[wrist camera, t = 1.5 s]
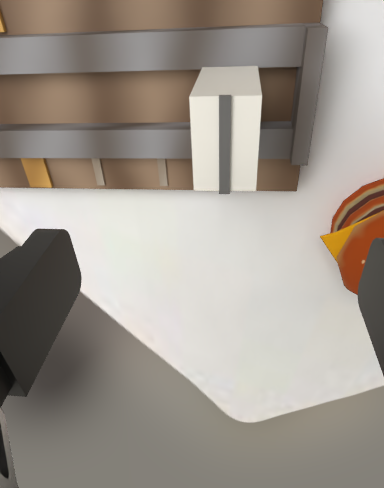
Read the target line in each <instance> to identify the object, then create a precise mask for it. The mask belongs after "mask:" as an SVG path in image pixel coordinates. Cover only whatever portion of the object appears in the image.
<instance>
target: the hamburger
mask: <svg viewBox="0 0 384 488" xmlns="http://www.w3.org/2000/svg"><path fill="white" fill-rule="evenodd" d="M320 237H321V239H322V240H323V242H324V243H325V245H326V246H327V248H328V249H329V251H330V252H331V254H332V255H333V257H334V258H335V260H336V261H337V263H338V266H339V269H340V273H341V276H342V280H343V283H344V286H345V287H346V288H347V289H348V290H350V291H351V292H353V293H355V294H357V295H358V285H359V281H360V278H361V275H362V272H363V268H364V265H365V262H366V258H367V255H368V252H369V249H370V245H371V243H372V241H373V240H374V239H375V238H384V178H383V179H381V180H378V181H375V182H373V183H370V184H367V185H364V186H362V187H361V188H360V189H358V190H357V191H356V192H355V193H353V194H352V195H351V196H349V197H348V198H347V199H345V200H344V201H343V203H342V204H341V206H340V207H339V209H338V210H337V212H336V213H335V215H334V217H333V219H332V226H331V233H330V234H327V235H323V236H320Z"/></svg>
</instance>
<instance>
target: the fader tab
mask: <svg viewBox="0 0 384 488" xmlns="http://www.w3.org/2000/svg"><path fill="white" fill-rule="evenodd" d="M189 103H190V123H191V144H192V165H193V185H194V191H219V194H230V191H256V182H257V167H258V151H259V136H260V120H261V105H262V91H261V84H260V78H259V71H258V66H233V67H202V69H201V72H200V74H199V76H198V78H197V80H196V83H195V85H194V87H193V89H192V92H191V94H190V96H189Z"/></svg>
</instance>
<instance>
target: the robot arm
mask: <svg viewBox="0 0 384 488" xmlns="http://www.w3.org/2000/svg"><path fill="white" fill-rule="evenodd" d="M80 287H81V272H80V268H79V265H78V262H77V258H76V255H75V252H74V248H73V245H72V242H71V238H70V235H69V233H68V232H67V231H66V230H64V229H36V230H35V231H34V232H33V233H32V234H31V235H30V236H29V238H28V239H27V240H26V241H25V243H24V244H23V245H22V246H18V247H16V248H15V249H13V250H12V251H11V252H9V253H7V254H6V255H5V256H3V257H2V258H0V488H19V487H18V483H17V479H16V474H15V468H14V463H13V457H12V452H11V447H10V441H9V436H8V431H7V425H6V420H5V415H4V411H3V409H2V408H1V406H2V404H3V402H4V400H5V399H6V397H7V395H12V396H25V397H26V396H27V394H28V392H29V390H30V389H31V387H32V385H33V383H34V381H35V379H36V377H37V375H38V373H39V371H40V369H41V366H42V365H43V363H44V361H45V359H46V357H47V355H48V353H49V351H50V349H51V347H52V345H53V343H54V341H55V339H56V337H57V335H58V333H59V331H60V329H61V327H62V325H63V323H64V321H65V319H66V317H67V316H68V314H69V312H70V310H71V308H72V306H73V304H74V302H75V300H76V298H77V296H78V294H79V291H80ZM358 303H359V307H360V310H361V313H362V316H363V319H364V322H365V324H366V327H367V330H368V333H369V336H370V339H371V341H372V344H373V347H374V350H375V353H376V356H377V358H378V361H379V364H380V367H381V370H382V373H383V375H384V238H375V239H374V240H373V241H372V243H371V245H370V249H369V252H368V255H367V258H366V262H365V265H364V268H363V272H362V275H361V278H360V281H359V285H358Z"/></svg>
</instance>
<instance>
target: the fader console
mask: <svg viewBox="0 0 384 488" xmlns="http://www.w3.org/2000/svg"><path fill="white" fill-rule="evenodd" d="M322 5H323V0H0V187H13V188H88V189H164V190H194V185H193V165H192V144H191V123H190V103H189V96H190V94H191V92H192V89H193V87H194V85H195V83H196V80H197V78H198V76H199V74H200V72H201V69H202V67H233V66H258V71H259V78H260V84H261V91H262V105H261V120H260V136H259V151H258V167H257V182H256V191H297V185H298V178H299V171H300V165H307V164H308V158H309V151H310V144H311V138H312V131H313V125H314V118H315V111H316V105H317V98H318V92H319V85H320V78H321V72H322V65H323V58H324V52H325V45H326V39H327V32H328V27H326V26H325V25H323V24H322V23H320V20H321V12H322Z"/></svg>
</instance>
